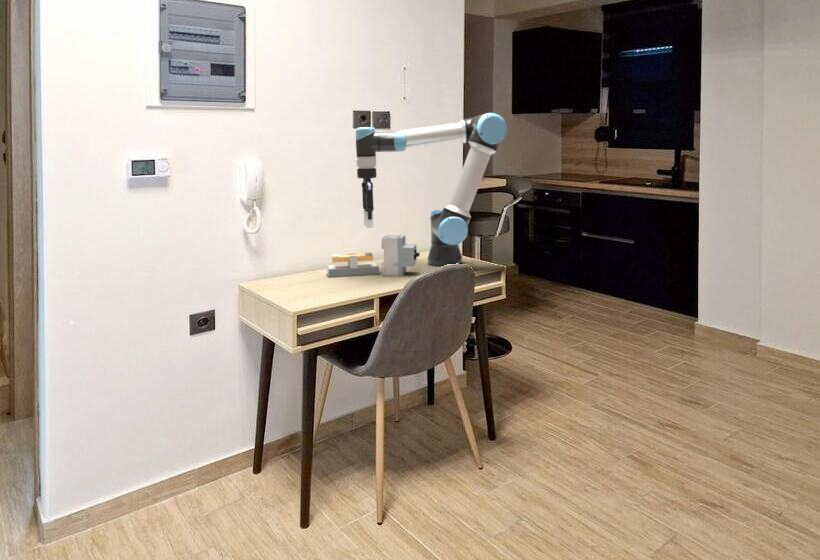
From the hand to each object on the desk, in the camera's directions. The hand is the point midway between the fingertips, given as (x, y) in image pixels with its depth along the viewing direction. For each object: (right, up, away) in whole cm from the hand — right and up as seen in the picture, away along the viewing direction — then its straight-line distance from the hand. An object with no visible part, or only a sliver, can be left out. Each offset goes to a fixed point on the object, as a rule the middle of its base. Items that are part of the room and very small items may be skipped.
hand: (368, 226), depth 257 cm
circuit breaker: (+13, -19, +2) cm, 23 cm away
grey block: (-6, -19, +3) cm, 20 cm away
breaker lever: (-7, -14, +2) cm, 15 cm away
